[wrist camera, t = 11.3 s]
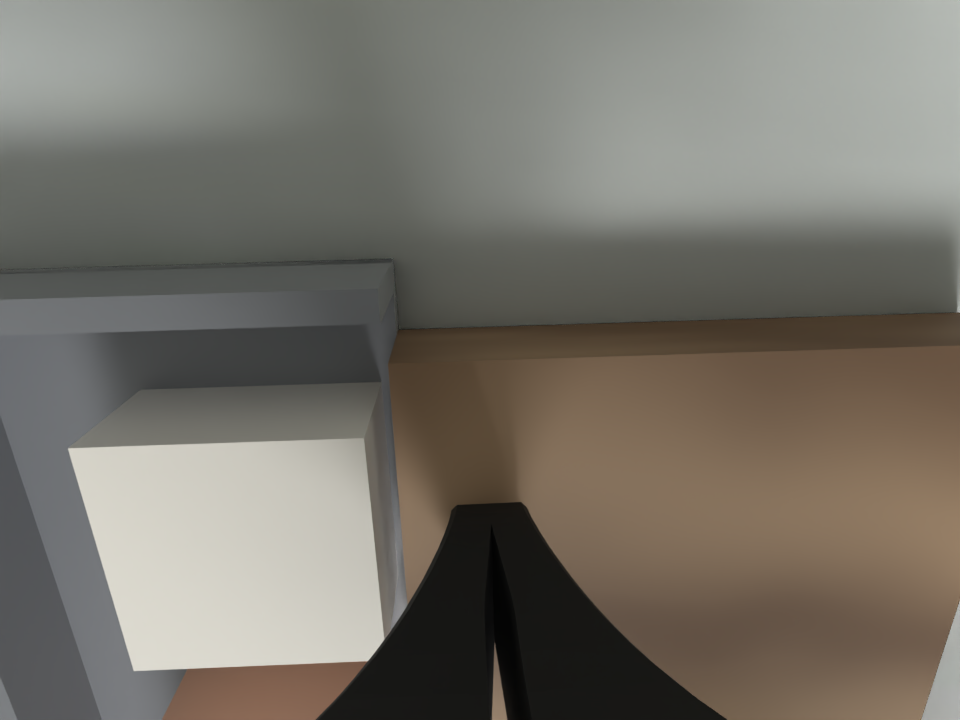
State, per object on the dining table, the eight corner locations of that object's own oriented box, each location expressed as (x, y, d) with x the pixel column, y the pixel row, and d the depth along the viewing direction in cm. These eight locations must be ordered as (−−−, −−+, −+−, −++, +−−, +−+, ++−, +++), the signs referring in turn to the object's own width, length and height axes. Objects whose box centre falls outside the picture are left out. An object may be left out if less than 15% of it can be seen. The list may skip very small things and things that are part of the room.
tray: (434, 821, 18) (430, 923, 16) (131, 836, 18) (82, 941, 16) (393, 258, 12) (377, 288, 10) (-62, 271, 12) (-189, 305, 10)
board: (837, 767, 18) (881, 841, 16) (432, 787, 18) (428, 864, 16) (958, 312, 13) (1042, 342, 11) (398, 329, 13) (387, 363, 11)
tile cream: (398, 574, 14) (386, 660, 12) (187, 582, 14) (134, 670, 12) (381, 381, 13) (364, 438, 10) (140, 389, 13) (67, 447, 10)
